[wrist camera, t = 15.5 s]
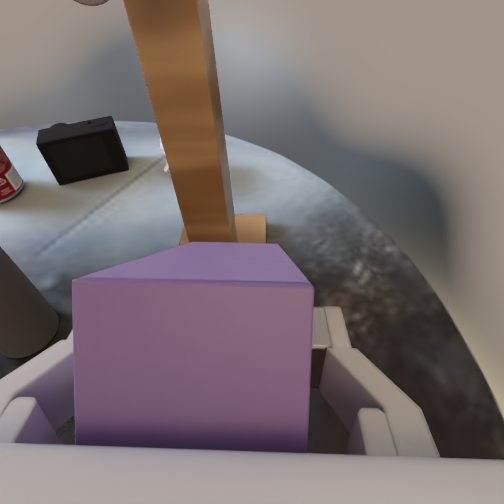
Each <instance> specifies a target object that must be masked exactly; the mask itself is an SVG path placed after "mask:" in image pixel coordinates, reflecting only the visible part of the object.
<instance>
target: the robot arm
mask: <svg viewBox="0 0 504 504" xmlns="http://www.w3.org/2000/svg"><path fill="white" fill-rule="evenodd" d="M310 388H319V391H320V392H321V394H322V395H323V396H324V398H325V399H326V401H327V402H328V403H329V405H330V406H331V408H332V409H333V410H334V412H335V413H336V415H337V416H338V417H339V419H340V420H341V421H342V423H343V424H344V426H345V427H346V428H347V430H348V431H349V433H350V437H349V440H348V443H347V446H346V449H345V452H344V454H316V453H287V452H258V451H230V450H202V449H174V448H146V447H117V446H88V445H63V443H62V442H61V440H60V438H59V437H58V435H57V433H56V432H57V431H58V430H59V429H60V428H61V427H62V426H63V425H64V424H65V423H66V422H67V421H68V420H69V419H70V418H71V417H72V416H73V415H74V414H75V405H74V359H73V330H72V331H71V333H70V334H69V336H68V338H67V339H66V340H60V341H59V342H57V343H56V344H54V345H53V346H51V347H50V348H48V349H47V350H45V351H43V352H42V353H40V354H39V355H37V356H36V357H34V358H33V359H31V360H30V361H28V362H27V363H25V364H23V365H22V366H20V367H19V368H17V369H16V370H14V371H13V372H11V373H10V374H8V375H7V376H5V377H4V378H2V379H0V504H504V460H492V459H462V458H440V455H439V453H438V450H437V448H436V445H435V443H434V440H433V438H432V435H431V433H430V430H429V428H428V425H427V423H426V420H425V417H424V415H423V412H422V410H421V408H420V407H419V406H418V405H417V404H415V403H414V402H413V401H412V400H411V399H410V398H409V397H408V396H407V395H406V394H405V393H404V392H403V391H402V390H400V389H399V388H398V387H397V386H396V385H395V384H394V383H393V382H392V381H391V380H390V379H389V378H388V377H387V376H386V375H384V374H383V373H382V372H381V371H380V370H379V369H378V368H377V367H376V366H375V365H374V364H373V363H372V362H371V361H369V360H368V359H367V358H366V357H365V356H364V355H363V354H362V353H361V352H360V351H359V350H358V349H354V348H352V347H351V344H350V340H349V336H348V332H347V329H346V325H345V321H344V317H343V313H342V310H341V308H340V307H339V306H323V307H322V306H314V308H313V332H312V356H311V379H310Z"/></svg>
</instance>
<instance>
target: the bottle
mask: <svg viewBox="0 0 504 504" xmlns="http://www.w3.org/2000/svg"><path fill="white" fill-rule="evenodd" d="M58 327H59V317H58V315H57V313H56V312H55V310H54V309H53V308H52V306H51V305H50V304H49V303H48V302H47V300H46V299H45V298H44V297H43V296H42V295H41V293H40V292H39V291H38V290H37V289H36V287H35V286H34V285H33V284H32V283H31V282H30V280H29V279H28V278H27V277H26V276H25V275H24V273H23V272H22V271H21V270H20V269H19V268H18V267H17V265H16V264H15V263H14V262H13V261H12V260H11V258H10V257H9V256H8V255H7V254H6V253H5V252H4V250H3V249H2V248H1V247H0V353H1V354H3V355H4V356H6V357H9V358H22V357H26V356H29V355H32V354H34V353H36V352H38V351H39V350H41V349H42V348H43V347H45V346H46V345H47V344H48V343H49V342H50V341H51V340H52V338H53V337H54V336H55V334H56V332H57V330H58Z"/></svg>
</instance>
